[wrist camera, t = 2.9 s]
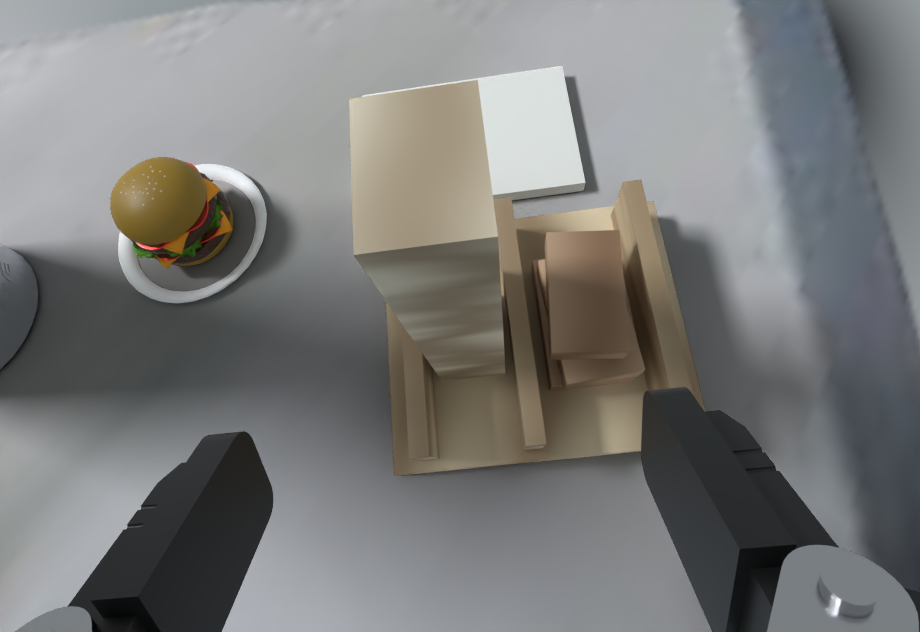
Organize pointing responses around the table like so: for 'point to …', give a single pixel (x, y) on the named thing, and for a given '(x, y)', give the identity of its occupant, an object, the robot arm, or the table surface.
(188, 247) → the hamburger
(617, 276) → the offcut stack
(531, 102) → the white mat
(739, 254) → the table surface
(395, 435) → the pine rack
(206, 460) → the robot arm
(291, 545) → the table surface
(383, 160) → the tall birch block
